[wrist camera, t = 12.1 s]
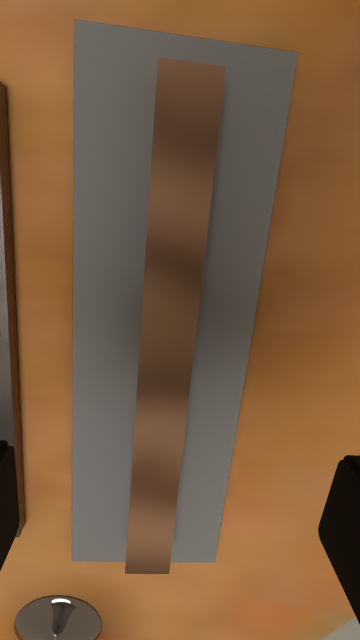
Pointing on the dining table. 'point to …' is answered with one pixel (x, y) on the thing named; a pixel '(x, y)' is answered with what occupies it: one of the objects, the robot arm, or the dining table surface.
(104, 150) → the grey mat
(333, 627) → the dining table surface
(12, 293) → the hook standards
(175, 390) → the walnut rail
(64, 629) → the wine glass
